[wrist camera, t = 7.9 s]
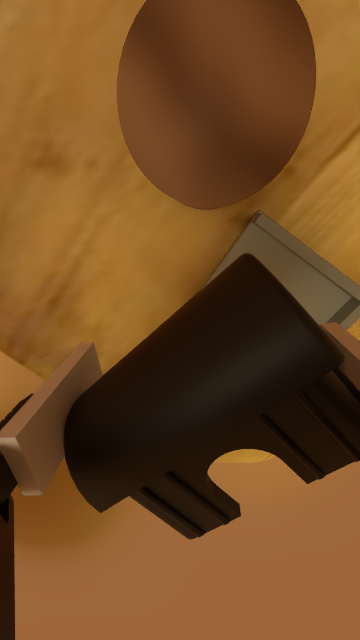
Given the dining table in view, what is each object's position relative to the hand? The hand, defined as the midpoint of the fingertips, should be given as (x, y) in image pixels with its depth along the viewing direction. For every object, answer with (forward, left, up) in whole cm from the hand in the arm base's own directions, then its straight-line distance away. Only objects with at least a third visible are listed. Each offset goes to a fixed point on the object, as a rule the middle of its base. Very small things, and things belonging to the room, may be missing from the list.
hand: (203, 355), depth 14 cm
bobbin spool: (-10, -7, -15) cm, 20 cm away
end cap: (0, 0, 0) cm, 0 cm away
